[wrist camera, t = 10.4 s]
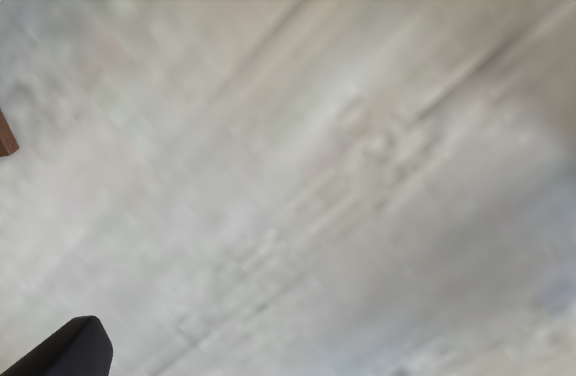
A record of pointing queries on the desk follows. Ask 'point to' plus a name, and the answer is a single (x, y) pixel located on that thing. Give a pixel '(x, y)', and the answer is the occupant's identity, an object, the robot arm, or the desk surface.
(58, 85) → the desk surface
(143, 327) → the desk surface
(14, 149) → the walnut spoon
